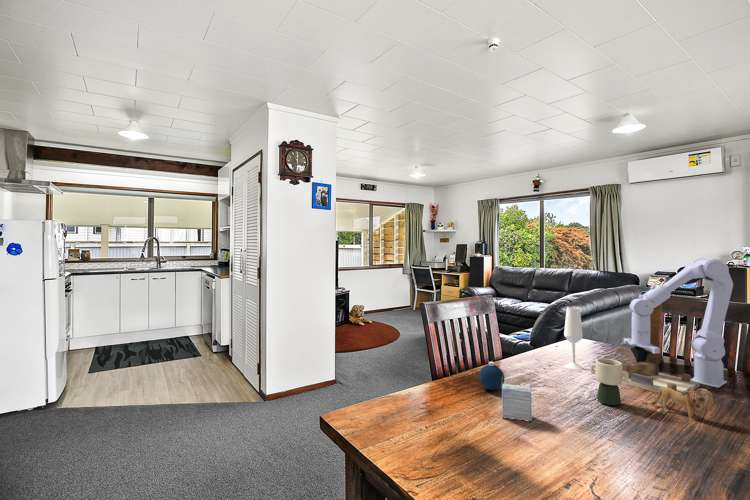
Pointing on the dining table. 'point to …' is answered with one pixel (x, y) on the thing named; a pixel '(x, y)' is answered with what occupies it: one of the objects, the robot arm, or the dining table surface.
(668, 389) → the lion figurine
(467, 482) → the dining table surface
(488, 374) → the christmas ornament
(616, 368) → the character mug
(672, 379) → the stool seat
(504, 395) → the medicine box
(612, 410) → the dining table surface
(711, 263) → the robot arm
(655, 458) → the dining table surface
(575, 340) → the champagne flute
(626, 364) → the wooden board
